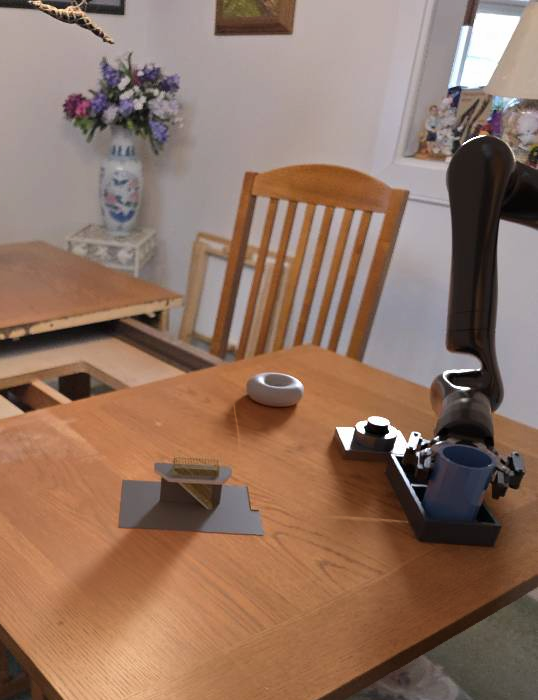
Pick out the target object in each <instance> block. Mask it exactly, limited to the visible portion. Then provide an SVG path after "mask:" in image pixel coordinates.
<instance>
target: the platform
mask: <svg viewBox="0 0 538 700" xmlns="http://www.w3.org/2000/svg"><path fill="white" fill-rule="evenodd" d="M153 472H154V474H156V475H158V476H159V477H161V478H160V481H157V480H156V481H155V480H137V479H136V480H135V479H123V480H122V487H121V497H120V498H121V499H120V510H119V522H118V527H119V528H127V529H145V530H165V531H166V530H167V531H182V532H184V531H185V532H201V533H202V532H203V533H219V534H220V533H222V534H239V535H241V534H242V535H260V536H265V532H264V527H263V523H262V519H261V514H260V510H259V509H252V507H251V500H250V494H249V493H250V492H249V486H247V485H234V484H233V485H231V484H226V483H227V482H228V481H229V479H231V477H232V476H233V469H232V467H231V466H227V465H226V466H225V465H224V466H223V465H221V463H220V459H219V458H203V457H202V458H201V457H186V456H185V457H184V456H183V457H182V456H174V457H173V463H170V462H155V463H154V464H153Z"/></svg>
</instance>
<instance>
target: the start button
mask: <svg viewBox="0 0 538 700" xmlns="http://www.w3.org/2000/svg"><path fill="white" fill-rule="evenodd" d="M366 421H367V424H366V428H365V431H367V432H368V433H371V434H375V435H386V434H387V431H388V428H389V425H390V423H391V422H390V421H389V420H388V419H387V418H384V417H380V416H369V417H368V418H367V420H366Z"/></svg>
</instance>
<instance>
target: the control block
mask: <svg viewBox="0 0 538 700" xmlns="http://www.w3.org/2000/svg"><path fill="white" fill-rule="evenodd" d="M366 424H367V420H364V421H359V422H357V423H356V424H355V426H354V427H344V426H343V427H341V426H339V427H338V426H335V429H334V434H333V438H334V440H335V443H336V446H337V448H338V450H339V452H340V453H339V454H340V456H341V458H342V460H343V461H354V462H369V463H382V464H383V463H384V464H388V460H389V456H390V454H399V455H404V453H405V450H406V446H407V444H408V441H406V439H405V437H404V436H403V434H402V432H401V431H400V430H397V429H396V427H393V426H391V425H390V424H389V428H388V431H387V434H386V435H375V434H371V433H368V432H367V431H365V428H366Z"/></svg>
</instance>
